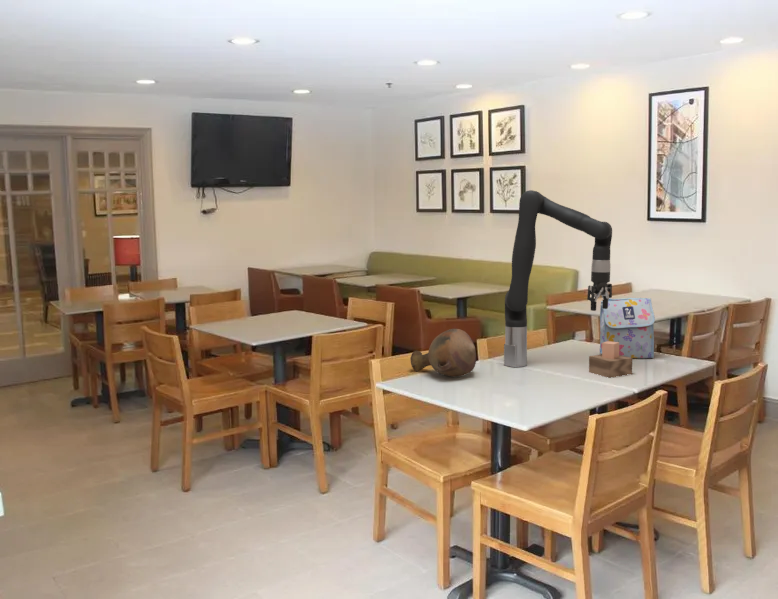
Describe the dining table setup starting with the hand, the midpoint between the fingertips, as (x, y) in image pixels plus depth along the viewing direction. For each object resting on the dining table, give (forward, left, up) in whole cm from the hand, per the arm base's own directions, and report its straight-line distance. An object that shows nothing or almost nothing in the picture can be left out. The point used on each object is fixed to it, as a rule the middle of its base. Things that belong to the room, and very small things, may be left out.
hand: (599, 309), depth 319 cm
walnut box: (-2, -7, -26) cm, 27 cm away
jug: (-49, +43, -26) cm, 70 cm away
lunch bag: (+31, +5, -26) cm, 40 cm away
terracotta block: (-2, -7, -19) cm, 20 cm away
